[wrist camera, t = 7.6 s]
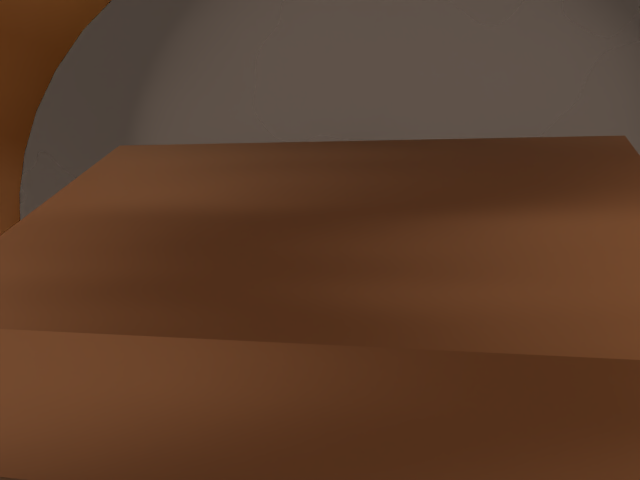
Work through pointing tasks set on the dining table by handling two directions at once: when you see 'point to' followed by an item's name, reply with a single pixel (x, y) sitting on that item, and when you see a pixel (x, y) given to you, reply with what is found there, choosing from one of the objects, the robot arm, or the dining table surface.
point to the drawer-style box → (328, 314)
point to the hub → (333, 76)
